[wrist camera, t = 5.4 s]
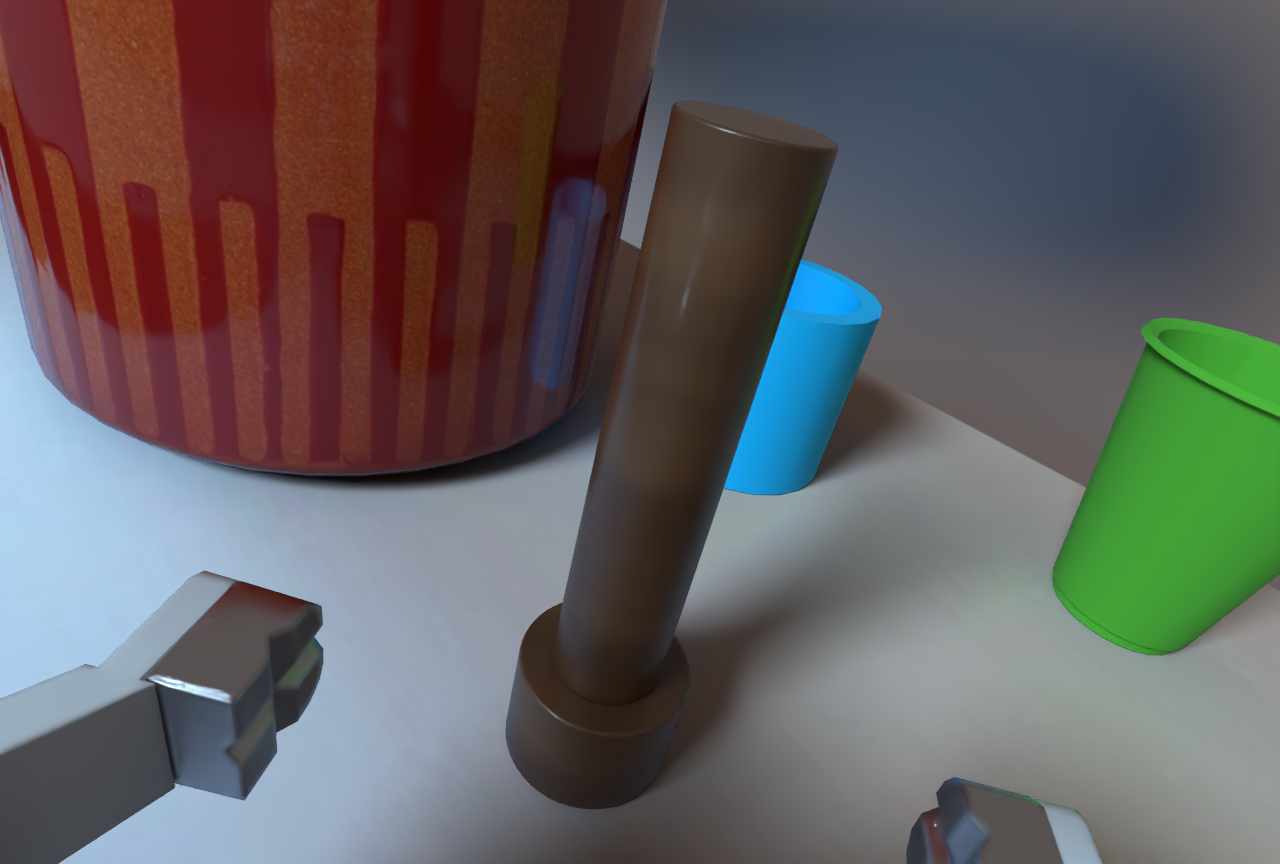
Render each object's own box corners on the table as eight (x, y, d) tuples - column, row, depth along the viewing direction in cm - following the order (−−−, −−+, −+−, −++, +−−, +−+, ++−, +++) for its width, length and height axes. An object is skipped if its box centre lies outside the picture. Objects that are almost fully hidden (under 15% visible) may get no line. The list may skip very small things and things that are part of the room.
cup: (1000, 625, 28) (1167, 371, 22) (1004, 510, 35) (1131, 296, 30) (1263, 744, 26) (1525, 492, 20) (1209, 594, 33) (1389, 379, 27)
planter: (89, 581, 21) (-149, -446, 11) (9, 265, 35) (-129, -317, 24) (683, 431, 35) (829, -72, 25) (459, 248, 49) (492, -124, 39)
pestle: (654, 829, 18) (911, 183, 10) (483, 785, 18) (602, 105, 10) (671, 689, 22) (869, 135, 14) (529, 652, 22) (643, 78, 14)
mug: (740, 515, 30) (805, 337, 26) (615, 416, 35) (653, 250, 31) (890, 448, 38) (958, 302, 34) (771, 374, 43) (819, 237, 39)
